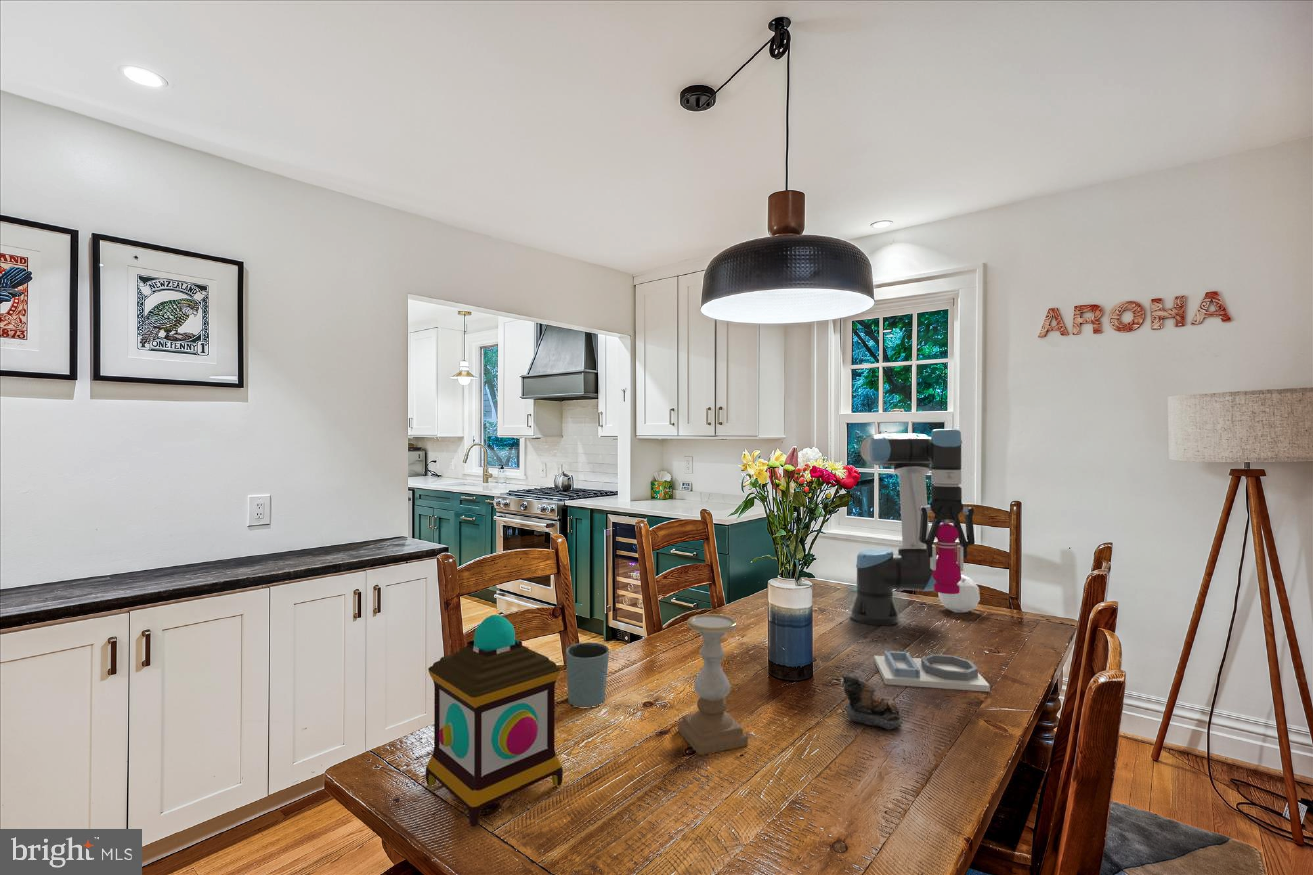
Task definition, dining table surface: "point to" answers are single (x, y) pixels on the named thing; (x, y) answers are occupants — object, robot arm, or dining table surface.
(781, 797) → the dining table surface
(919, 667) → the holder board
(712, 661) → the candle holder
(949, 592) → the pepper mill
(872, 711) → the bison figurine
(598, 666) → the blue grey cup
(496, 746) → the decorative lantern
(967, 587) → the geodesic sphere
